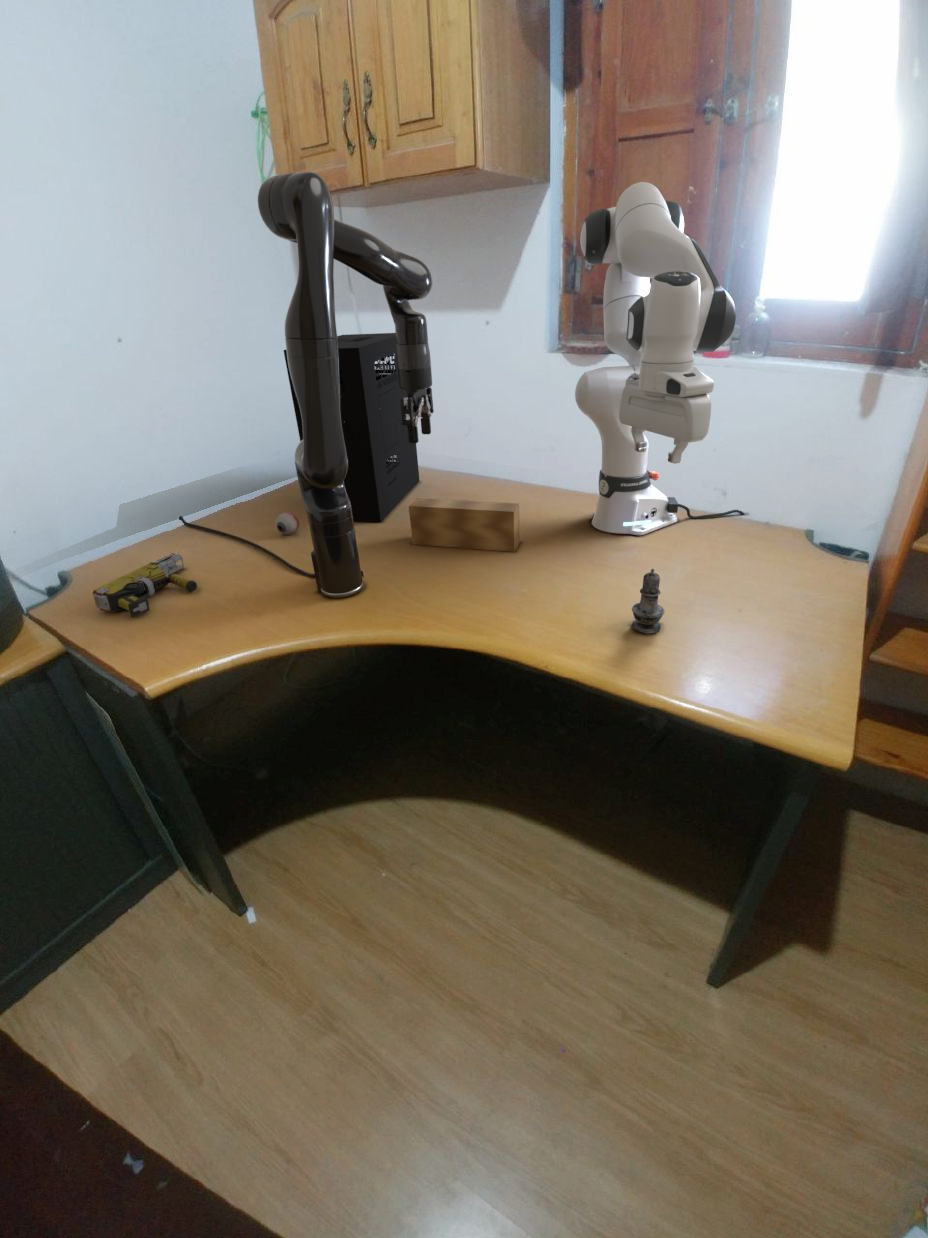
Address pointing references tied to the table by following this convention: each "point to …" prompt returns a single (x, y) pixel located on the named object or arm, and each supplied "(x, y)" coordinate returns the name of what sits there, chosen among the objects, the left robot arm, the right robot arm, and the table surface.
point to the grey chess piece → (648, 605)
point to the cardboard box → (371, 426)
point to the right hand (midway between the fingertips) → (656, 456)
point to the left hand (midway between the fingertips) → (420, 438)
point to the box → (465, 524)
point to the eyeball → (287, 523)
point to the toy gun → (141, 586)
